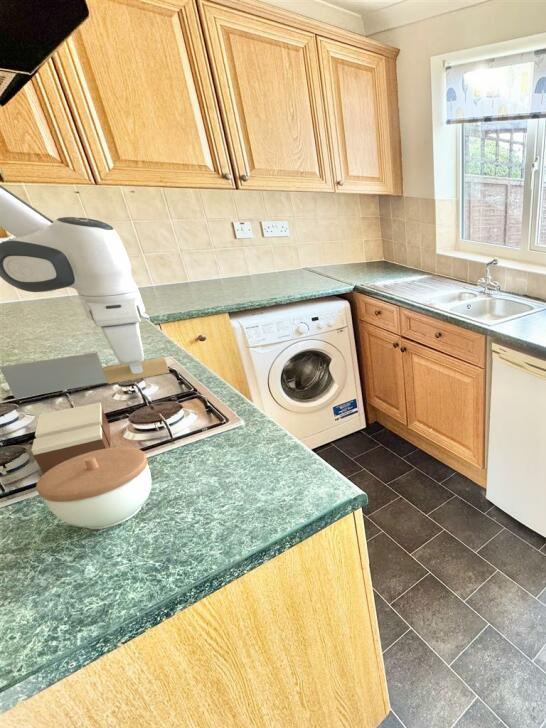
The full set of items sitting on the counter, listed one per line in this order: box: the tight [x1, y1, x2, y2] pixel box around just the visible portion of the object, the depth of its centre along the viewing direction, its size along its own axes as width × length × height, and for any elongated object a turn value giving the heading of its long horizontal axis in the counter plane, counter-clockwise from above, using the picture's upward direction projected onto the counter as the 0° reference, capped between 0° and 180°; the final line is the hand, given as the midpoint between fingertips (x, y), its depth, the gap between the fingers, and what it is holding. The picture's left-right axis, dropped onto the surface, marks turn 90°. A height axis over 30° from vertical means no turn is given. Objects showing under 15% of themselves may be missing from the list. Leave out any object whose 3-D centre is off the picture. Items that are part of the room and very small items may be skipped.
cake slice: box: [31, 425, 111, 476], centre depth 79 cm, size 9×5×6 cm, turn 131°
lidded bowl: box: [35, 446, 153, 530], centre depth 67 cm, size 13×13×11 cm
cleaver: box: [0, 352, 170, 400], centre depth 84 cm, size 23×2×6 cm, turn 132°
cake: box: [34, 402, 111, 447], centre depth 85 cm, size 9×10×6 cm
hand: (137, 369), depth 89 cm, fingers closed on cleaver, 2 cm apart
